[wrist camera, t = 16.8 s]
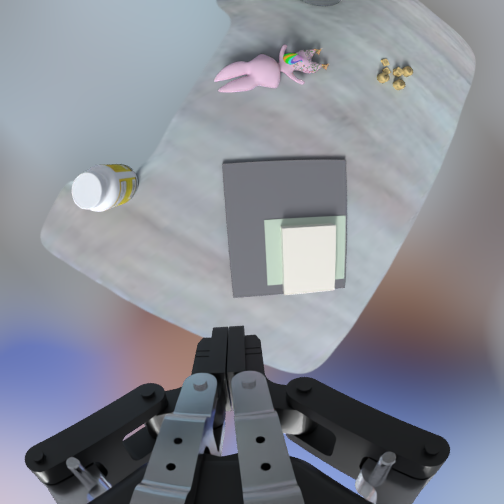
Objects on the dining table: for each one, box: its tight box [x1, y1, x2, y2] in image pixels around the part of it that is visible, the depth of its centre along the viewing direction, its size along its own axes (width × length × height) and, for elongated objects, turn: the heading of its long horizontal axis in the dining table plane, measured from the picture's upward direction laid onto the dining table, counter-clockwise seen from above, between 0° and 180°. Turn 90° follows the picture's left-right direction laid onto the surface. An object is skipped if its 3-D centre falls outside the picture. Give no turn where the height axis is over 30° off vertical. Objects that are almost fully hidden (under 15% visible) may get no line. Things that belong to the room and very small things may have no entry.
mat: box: [222, 160, 347, 298], centre depth 38 cm, size 18×16×1 cm
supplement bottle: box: [72, 164, 138, 211], centre depth 30 cm, size 5×5×10 cm
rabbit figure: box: [214, 44, 330, 92], centre depth 29 cm, size 6×6×15 cm
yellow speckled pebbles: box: [377, 59, 413, 90], centre depth 32 cm, size 5×5×2 cm
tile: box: [280, 223, 336, 295], centre depth 38 cm, size 7×2×9 cm
